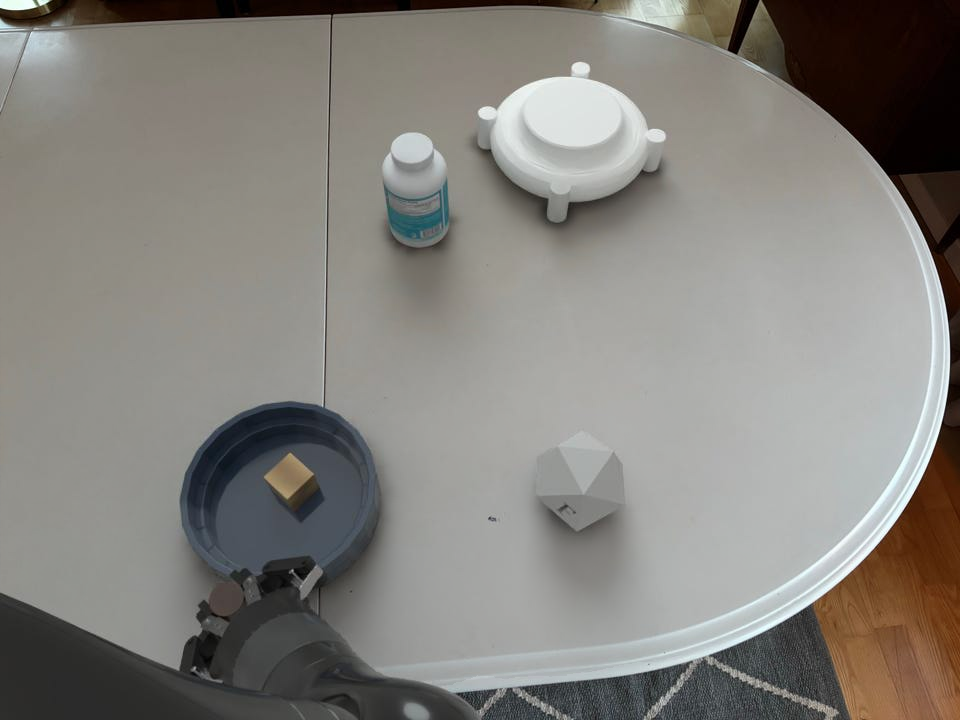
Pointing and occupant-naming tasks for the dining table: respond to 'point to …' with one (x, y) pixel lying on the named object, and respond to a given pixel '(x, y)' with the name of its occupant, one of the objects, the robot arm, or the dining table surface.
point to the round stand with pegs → (569, 139)
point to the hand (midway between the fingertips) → (223, 594)
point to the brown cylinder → (227, 600)
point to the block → (292, 482)
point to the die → (580, 480)
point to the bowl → (264, 516)
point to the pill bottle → (416, 191)
